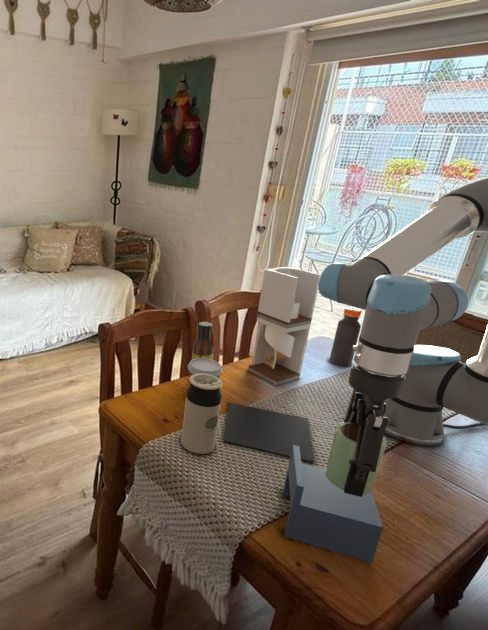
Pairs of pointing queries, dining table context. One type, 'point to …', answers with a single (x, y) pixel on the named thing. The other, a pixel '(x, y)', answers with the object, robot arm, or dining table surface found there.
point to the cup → (348, 456)
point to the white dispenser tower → (283, 323)
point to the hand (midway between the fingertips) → (348, 478)
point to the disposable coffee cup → (204, 367)
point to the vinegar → (346, 337)
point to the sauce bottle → (203, 342)
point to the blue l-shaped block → (329, 513)
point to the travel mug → (201, 413)
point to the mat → (268, 431)
